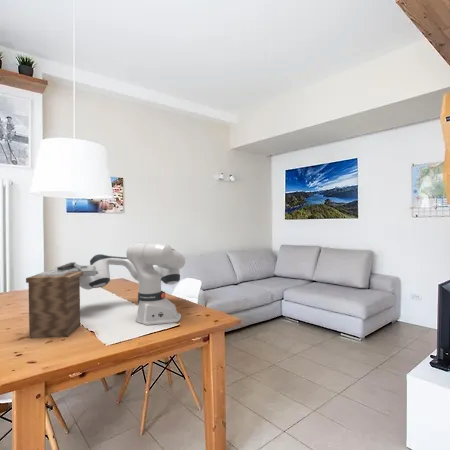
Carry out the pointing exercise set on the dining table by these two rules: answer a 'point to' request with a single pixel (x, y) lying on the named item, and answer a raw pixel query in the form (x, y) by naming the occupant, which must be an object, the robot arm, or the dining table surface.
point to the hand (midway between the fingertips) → (70, 264)
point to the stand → (54, 305)
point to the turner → (58, 271)
